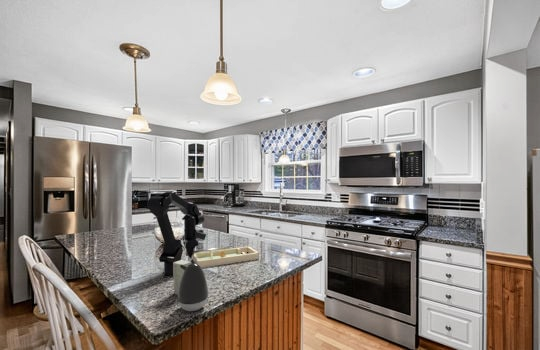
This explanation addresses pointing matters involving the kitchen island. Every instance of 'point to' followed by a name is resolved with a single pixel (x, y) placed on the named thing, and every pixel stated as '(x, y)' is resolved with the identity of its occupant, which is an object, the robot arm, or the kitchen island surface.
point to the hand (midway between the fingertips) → (189, 256)
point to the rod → (208, 251)
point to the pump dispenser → (192, 288)
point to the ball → (222, 254)
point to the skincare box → (178, 273)
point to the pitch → (231, 256)
